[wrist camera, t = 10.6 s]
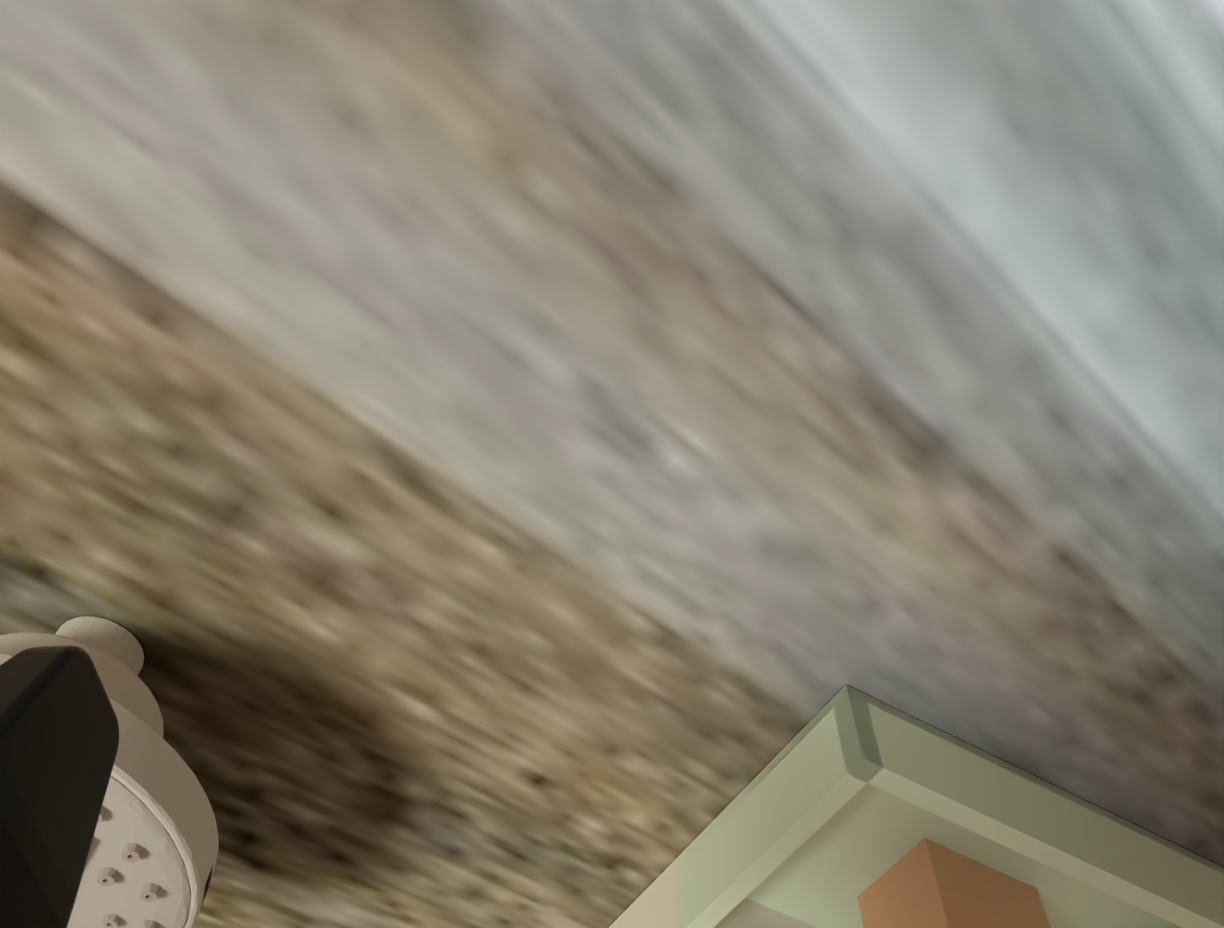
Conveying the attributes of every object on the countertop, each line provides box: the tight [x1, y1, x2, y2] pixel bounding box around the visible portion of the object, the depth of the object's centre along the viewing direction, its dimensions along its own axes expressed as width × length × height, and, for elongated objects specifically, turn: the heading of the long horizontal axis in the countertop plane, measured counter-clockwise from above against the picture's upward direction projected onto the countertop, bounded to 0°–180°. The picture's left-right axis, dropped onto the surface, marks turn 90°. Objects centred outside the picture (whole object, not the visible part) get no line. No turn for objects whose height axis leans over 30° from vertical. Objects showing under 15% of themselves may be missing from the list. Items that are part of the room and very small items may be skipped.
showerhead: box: [0, 616, 219, 928], centre depth 23 cm, size 9×7×10 cm
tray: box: [675, 685, 1224, 928], centre depth 29 cm, size 8×14×2 cm, turn 60°
